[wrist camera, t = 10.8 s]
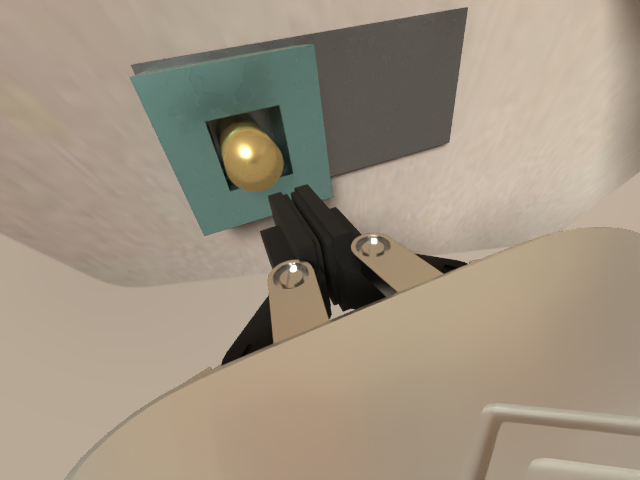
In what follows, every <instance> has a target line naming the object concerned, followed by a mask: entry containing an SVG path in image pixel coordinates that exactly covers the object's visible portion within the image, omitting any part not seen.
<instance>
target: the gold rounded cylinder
mask: <svg viewBox="0 0 640 480" xmlns="http://www.w3.org/2000/svg"><path fill="white" fill-rule="evenodd" d="M217 139H218V143H219V147H220V150H221V154H222V158H223V161H224V165H225V169H226V172H227V175H228V177H229V178H230V180H231V181H232V182H233V183H234V184H235V185H236V186H237V187H239V188H240V189H242V190H245V191H249V192H260V191H264V190H266V189H269V188H270V187H272V186H273V185H274V184H275V183H276V182H277V181H278V180H279V178H280V176H281V174H282V171H283V157H282V154H281V152H280V150H279V148H278V147H277V146H276V144H275V143H274V142H273V141H272V140H271V139H270V137H269V136H268V135H267V134H266V133H265V132H264V131H263V129H262V128H261V127H260V126H259V125H258V124H257V123H256V121H255V120H254V119H253V118H252V117H250V116H249V115H247V114H245V113H241V114H236V115H232V116H227V117H223V118H222V119H221V120H220V122H219V124H218V126H217Z"/></svg>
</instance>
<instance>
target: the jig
mask: <svg viewBox="0 0 640 480" xmlns="http://www.w3.org/2000/svg"><path fill="white" fill-rule="evenodd" d="M467 10H468V7H466V8H460V9H454V10H448V11H442V12H436V13H430V14H425V15H419V16H413V17H407V18H401V19H395V20H390V21H384V22H378V23H372V24H366V25H360V26H355V27H349V28H343V29H337V30H331V31H325V32H320V33H314V34H308V35H302V36H296V37H290V38H285V39H279V40H273V41H267V42H261V43H255V44H250V45H244V46H238V47H232V48H226V49H220V50H214V51H209V52H203V53H197V54H191V55H185V56H179V57H174V58H168V59H162V60H156V61H150V62H144V63H139V64H133V65H131V67H132V69H133V71H134V73H135V75H134V76H132V77H130V79H131V81H132V83H133V85H134V88H135V90H136V92H137V94H138V96H139V98H140V100H141V102H142V105H143V107H144V109H145V111H146V113H147V115H148V117H149V119H150V122H151V124H152V126H153V128H154V130H155V132H156V134H157V136H158V139H159V141H160V143H161V145H162V147H163V149H164V151H165V153H166V156H167V158H168V160H169V162H170V164H171V166H172V168H173V170H174V173H175V175H176V177H177V179H178V181H179V183H180V185H181V187H182V190H183V192H184V194H185V196H186V198H187V200H188V202H189V204H190V207H191V209H192V211H193V213H194V215H195V217H196V219H197V221H198V224H199V226H200V228H201V230H202V232H203V234H204V236H207V235H210V234H213V233H216V232H220V231H223V230H226V229H229V228H233V227H236V226H239V225H243V224H246V223H249V222H252V221H256V220H259V219H262V218H265V217H269V216H272V215H273V214H272V211H271V207H270V203H269V200H268V195H271V194H275V193H278V192H281V193H282V194H283V195H284V194H288V196H289V197H290V199H291V192H294V188H295V187H299V186H302V185H306V184H308V185H309V186H310V187H311V189H312V190H313V191H314V192H315V193H316V194H317V195H318V197H319V198H320V199H321V200H324V199H328V198H331V197H333V195H332V187H331V179H330V177H332V176H335V175H338V174H342V173H345V172H349V171H352V170H356V169H359V168H363V167H366V166H370V165H373V164H377V163H380V162H383V161H387V160H390V159H394V158H397V157H401V156H404V155H408V154H411V153H415V152H418V151H422V150H425V149H428V148H432V147H435V146H439V145H442V144H446V143H449V140H450V133H451V126H452V119H453V111H454V104H455V97H456V90H457V82H458V75H459V68H460V61H461V53H462V46H463V39H464V32H465V24H466V17H467ZM241 113H245V114H247V115H249V116H250V117H252V118H253V119H254V120H255V121H256V123H257V124H258V125H259V126H260V127H261V128H262V129H263V131H264V132H265V133H266V134H267V135H268V136H269V137H270V139H271V140H272V141H273V142H274V143H275V144H276V146H277V147H278V148H279V150H280V152H281V154H282V157H283V171H282V174H281V176H280V178H279V180H278V181H277V182H276V183H275V184H274V185H273V186H272V187H270V188H269V189H266V190H264V191H260V192H249V191H245V190H242V189H240V188H239V187H237V186H236V185H235V184H234V183H233V182H232V181H231V180H230V178H229V177H228V175H227V172H226V169H225V165H224V161H223V158H222V154H221V150H220V147H219V143H218V139H217V126H218V124H219V122H220V120H221V119H222V118H223V117H227V116H232V115H236V114H241ZM291 200H292V199H291Z"/></svg>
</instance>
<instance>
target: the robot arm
mask: <svg viewBox="0 0 640 480" xmlns="http://www.w3.org/2000/svg"><path fill="white" fill-rule="evenodd" d="M291 199H292V200H291ZM291 199H290V197H289V196H288V194H284V195H283V194H282V193H281V192H278V193H275V194H271V195H268V200H269V203H270V207H271V211H272V214H273V218H274V222H275V225H276V226H274V227H271V228H268V229H265V230H262V231H260V233H261V236H262V240H263V243H264V246H265V249H266V252H267V255H268V258H269V261H270V264H271V266H272V270H271V272H270V274H269V275H268V290H269V296H268V297H267V298H266V300H265V301H264V302H263V304H262V305H261V306H260V308H259V309H258V311H257V312H256V313H255V315H254V316H253V317H252V319H251V320H250V321H249V323H248V324H247V326H246V327H245V328H244V330H243V331H242V332H241V334H240V335H239V336H238V338H237V339H236V341H235V342H234V344H233V345H232V346H231V347H230V349H229V350H228V351H227V353H226V355H225V357H224V358H223V361H222V364H221V365H219V366H218V367H216V368H214V369H213V370H212V368H211V367H208V368H207V369H205V370H204V371H202V372H200V373H199V374H197V375H196V376H194V377H192V378H191V379H189V380H188V381H186V382H185V383H183V384H181V385H179V386H178V387H176V388H174V389H172V390H170V391H168V392H167V393H164V394H163V395H161V396H159V397H157V398H156V399H154V400H153V401H151V402H150V403H148V404H147V405H145V406H144V407H142V408H140V409H139V410H137V411H136V412H134V413H133V414H131V415H130V416H129V417H128V418H126V419H125V420H124V421H123V422H121V423H120V424H119V425H117V426H116V427H115V428H114V429H112V430H111V431H110V432H108V433H107V434H106V435H105V436H104V437H103V438H102V439H100V440H99V441H98V442H97V443H96V444H95V445H94V446H93V447H92V448H91V449H90V450H89V451H88V452H87V453H86V454H85V455H84V456H83V457H82V458H81V459H80V460H79V461H78V462H77V464H76V465H75V466H74V467H73V468H72V470H71V471H70V472H69V473H68V475H67V476H66V478H65V479H64V480H640V233H638V232H634V231H631V230H627V229H622V228H612V227H592V228H578V229H572V230H566V231H561V232H556V233H552V234H549V235H545V236H542V237H539V238H536V239H533V240H530V241H527V242H525V243H522V244H519V245H516V246H513V247H511V248H508V249H505V250H503V251H500V252H498V253H495V254H493V255H490V256H488V257H485V258H482V259H479V260H473V261H470V262H469V264H467V263H465V262H461V261H457V260H452V259H445V258H439V257H433V256H426V255H420V254H414V253H412V252H411V251H410V250H408V249H407V248H405V247H404V246H402V245H401V244H399V243H398V242H396V241H395V240H393V239H392V238H391V237H389V236H387V235H384V234H380V233H367V234H363V235H361V234H360V232H359V231H358V230H357V229H356V228H355V227H354V226H353V225H352V224H351V223H350V222H349V221H348V220H347V218H346V217H345V216H344V215H343V214H342V213H341V212H340V211H339V210H338V209H337V208H336V207H335V208H331V209H329V208H328V207H327V206H326V204H325V203H324V202H323V201H322V200H321V199H320V198H319V197H318V195H317V194H316V193H315V192H314V191H313V190H312V189H311V187H310V186H309V185H308V184H306V185H302V186H299V187H295V188H294V192H291ZM329 297H330V298H329ZM330 299H331V301H332V303H333V304H334V305H337V304H339V306H340V307H341V309H342V311H346V310H348V309H355V310H354V311H351V312H349V313H346V314H344V315H342V316H339V317H337V318H334V319H332V320H329V319H330V317H331V315H332V314H331V308H330V307H331V304H330Z"/></svg>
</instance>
